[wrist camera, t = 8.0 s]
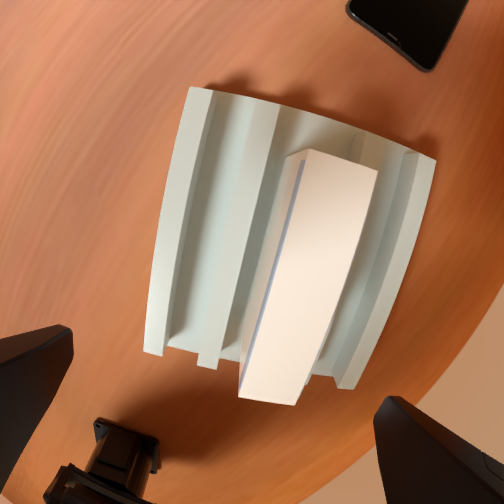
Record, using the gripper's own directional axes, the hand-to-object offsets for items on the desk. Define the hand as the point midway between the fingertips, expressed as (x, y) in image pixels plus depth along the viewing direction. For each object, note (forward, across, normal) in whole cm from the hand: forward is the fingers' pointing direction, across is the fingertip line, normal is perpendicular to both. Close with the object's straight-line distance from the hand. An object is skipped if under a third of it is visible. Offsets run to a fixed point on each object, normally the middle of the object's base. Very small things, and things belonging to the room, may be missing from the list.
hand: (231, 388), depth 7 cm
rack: (+12, -2, -2) cm, 12 cm away
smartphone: (+12, -8, -24) cm, 28 cm away
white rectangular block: (+11, -2, -2) cm, 11 cm away
